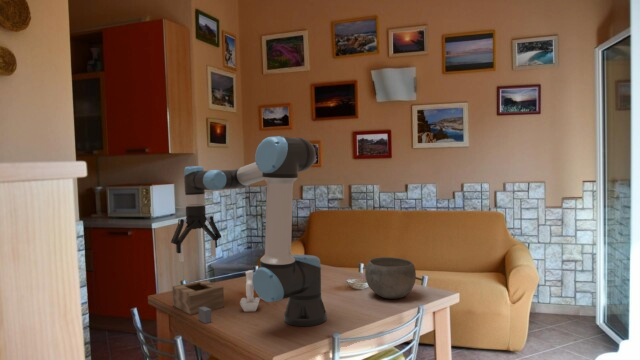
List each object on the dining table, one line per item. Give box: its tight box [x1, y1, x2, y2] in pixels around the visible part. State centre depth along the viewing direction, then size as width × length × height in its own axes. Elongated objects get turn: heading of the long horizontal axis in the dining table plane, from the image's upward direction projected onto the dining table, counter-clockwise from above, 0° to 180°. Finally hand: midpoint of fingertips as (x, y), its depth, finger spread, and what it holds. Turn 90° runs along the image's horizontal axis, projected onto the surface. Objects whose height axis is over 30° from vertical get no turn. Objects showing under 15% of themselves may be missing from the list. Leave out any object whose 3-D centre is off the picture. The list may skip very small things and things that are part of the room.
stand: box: [198, 307, 212, 324], centre depth 164 cm, size 5×2×4 cm, turn 41°
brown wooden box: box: [172, 279, 225, 316], centre depth 181 cm, size 16×14×8 cm
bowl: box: [364, 256, 417, 300], centre depth 190 cm, size 21×21×15 cm
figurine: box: [239, 269, 261, 313], centre depth 176 cm, size 7×9×15 cm
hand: (197, 258), depth 181 cm, fingers open, 13 cm apart
